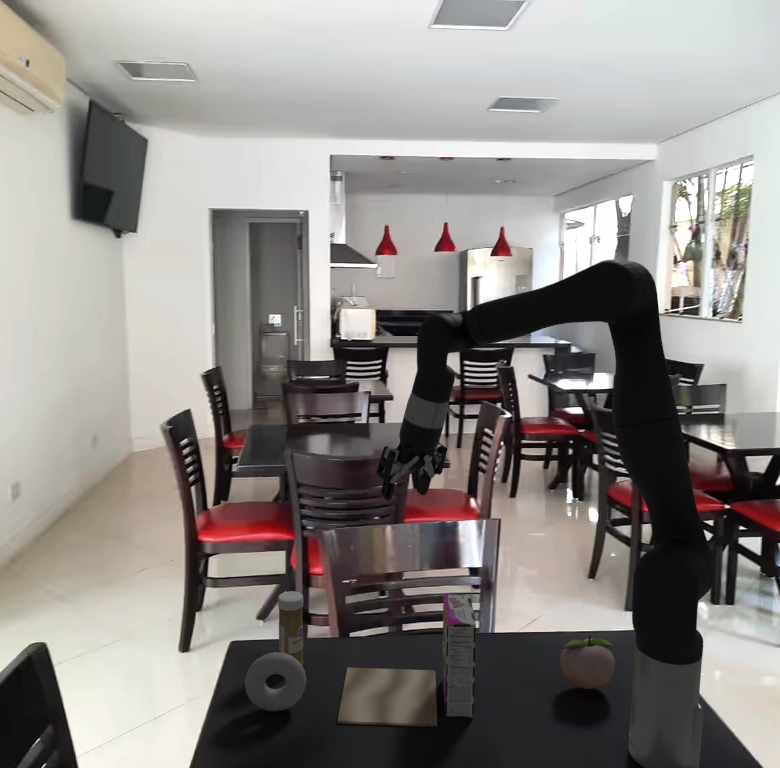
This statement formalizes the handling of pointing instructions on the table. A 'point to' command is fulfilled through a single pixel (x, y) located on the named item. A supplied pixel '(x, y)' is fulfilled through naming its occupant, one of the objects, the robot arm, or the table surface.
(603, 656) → the decorative fruit
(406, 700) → the oak mat
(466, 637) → the candy bar box
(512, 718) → the table surface
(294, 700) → the donut
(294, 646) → the sprinkles bottle
